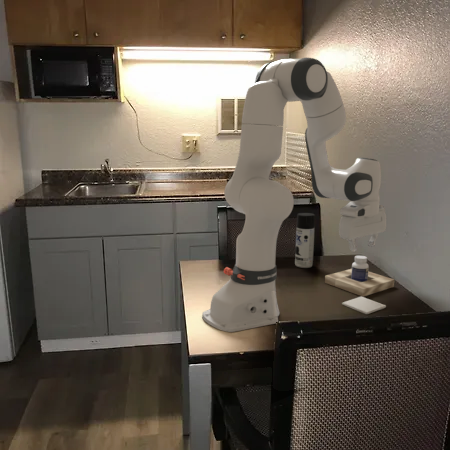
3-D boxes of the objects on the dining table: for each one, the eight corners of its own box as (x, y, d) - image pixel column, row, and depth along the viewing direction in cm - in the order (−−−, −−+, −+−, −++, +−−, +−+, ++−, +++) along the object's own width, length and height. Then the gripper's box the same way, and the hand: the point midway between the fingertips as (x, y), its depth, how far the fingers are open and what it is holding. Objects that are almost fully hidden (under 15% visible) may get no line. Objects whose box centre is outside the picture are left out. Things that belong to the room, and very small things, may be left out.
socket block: (363, 296, 149) (363, 289, 148) (324, 282, 161) (325, 275, 161) (393, 286, 158) (394, 279, 157) (355, 274, 170) (355, 267, 170)
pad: (366, 314, 135) (366, 312, 135) (342, 304, 142) (342, 302, 142) (385, 307, 140) (386, 305, 140) (361, 298, 147) (361, 296, 147)
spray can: (291, 263, 182) (293, 212, 178) (307, 262, 184) (310, 212, 180) (299, 268, 176) (301, 216, 172) (315, 267, 178) (318, 215, 174)
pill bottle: (367, 288, 156) (370, 259, 154) (351, 286, 158) (353, 258, 155) (366, 282, 162) (368, 255, 160) (350, 281, 163) (352, 254, 161)
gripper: (376, 202, 162) (374, 241, 165) (336, 209, 151) (334, 251, 154) (392, 205, 157) (389, 245, 160) (352, 213, 146) (350, 255, 149)
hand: (362, 248), depth 157 cm, fingers open, 8 cm apart
